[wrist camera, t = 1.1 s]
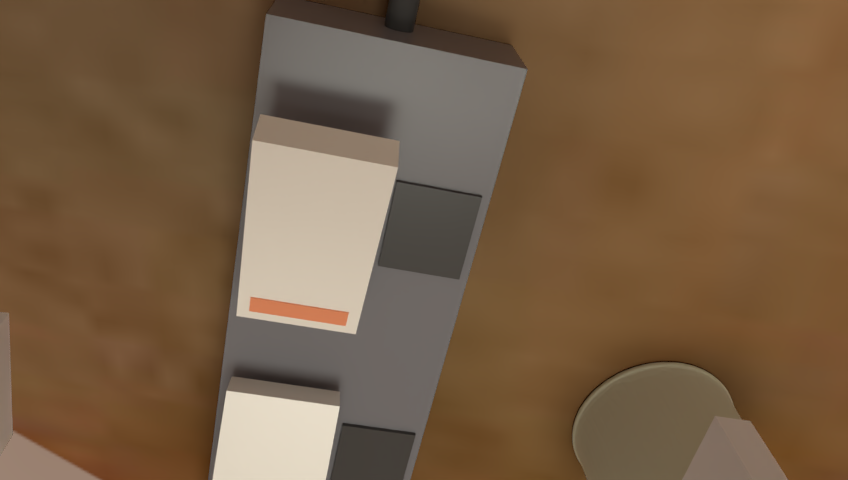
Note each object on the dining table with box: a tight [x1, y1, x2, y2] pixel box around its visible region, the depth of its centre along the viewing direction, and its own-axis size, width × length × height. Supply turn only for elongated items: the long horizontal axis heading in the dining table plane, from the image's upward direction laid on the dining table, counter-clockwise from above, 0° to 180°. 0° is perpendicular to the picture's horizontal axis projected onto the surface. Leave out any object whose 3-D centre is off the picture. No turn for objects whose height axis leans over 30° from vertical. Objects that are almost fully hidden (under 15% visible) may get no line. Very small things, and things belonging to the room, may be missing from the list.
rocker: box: [236, 114, 400, 334], centre depth 29 cm, size 9×5×2 cm, turn 168°
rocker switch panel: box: [208, 0, 528, 480], centre depth 34 cm, size 34×10×5 cm, turn 167°
